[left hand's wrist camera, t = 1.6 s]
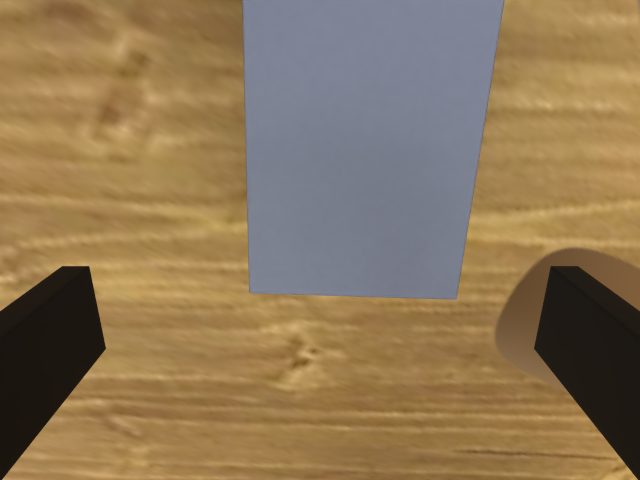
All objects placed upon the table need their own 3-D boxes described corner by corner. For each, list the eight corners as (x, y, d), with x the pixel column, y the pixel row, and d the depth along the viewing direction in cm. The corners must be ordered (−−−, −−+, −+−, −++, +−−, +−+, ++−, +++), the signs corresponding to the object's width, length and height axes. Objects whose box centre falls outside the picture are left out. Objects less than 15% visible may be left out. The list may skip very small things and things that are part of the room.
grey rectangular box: (269, -131, 24) (235, -278, 14) (455, -123, 24) (547, -263, 14) (271, 227, 31) (249, 293, 21) (414, 231, 31) (457, 300, 22)
